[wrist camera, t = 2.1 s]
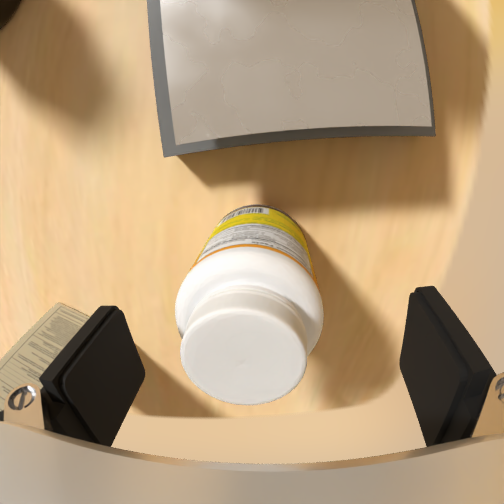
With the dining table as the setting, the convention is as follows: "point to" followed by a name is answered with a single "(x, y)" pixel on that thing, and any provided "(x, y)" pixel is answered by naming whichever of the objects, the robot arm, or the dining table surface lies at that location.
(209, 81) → the scale pan
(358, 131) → the scale base
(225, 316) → the supplement bottle
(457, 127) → the dining table surface
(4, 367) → the skincare box
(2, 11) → the supplement bottle
